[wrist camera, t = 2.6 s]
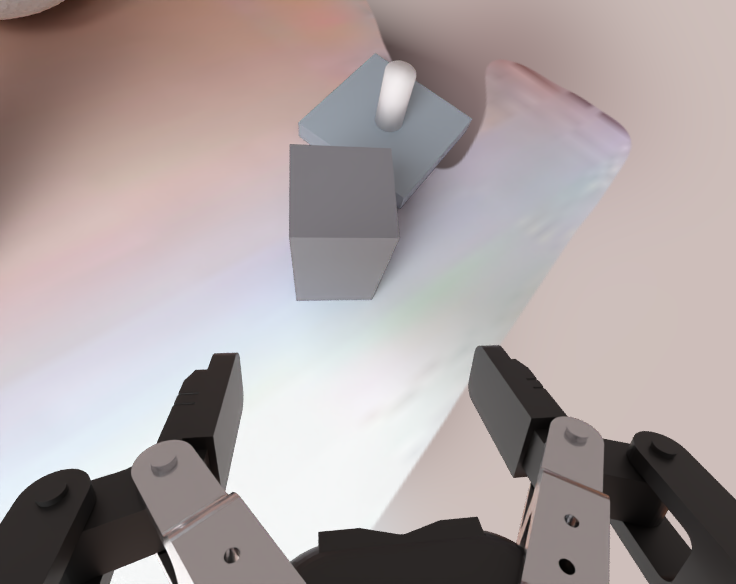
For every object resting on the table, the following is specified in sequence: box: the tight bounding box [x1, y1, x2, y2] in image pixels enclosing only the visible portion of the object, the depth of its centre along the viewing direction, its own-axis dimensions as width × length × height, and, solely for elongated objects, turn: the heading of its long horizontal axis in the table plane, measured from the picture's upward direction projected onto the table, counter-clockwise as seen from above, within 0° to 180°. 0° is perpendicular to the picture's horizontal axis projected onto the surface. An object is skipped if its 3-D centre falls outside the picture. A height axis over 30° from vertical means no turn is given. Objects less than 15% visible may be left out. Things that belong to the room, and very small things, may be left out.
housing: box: [289, 144, 400, 301], centre depth 24 cm, size 5×5×10 cm
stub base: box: [298, 53, 472, 209], centre depth 30 cm, size 10×10×6 cm
